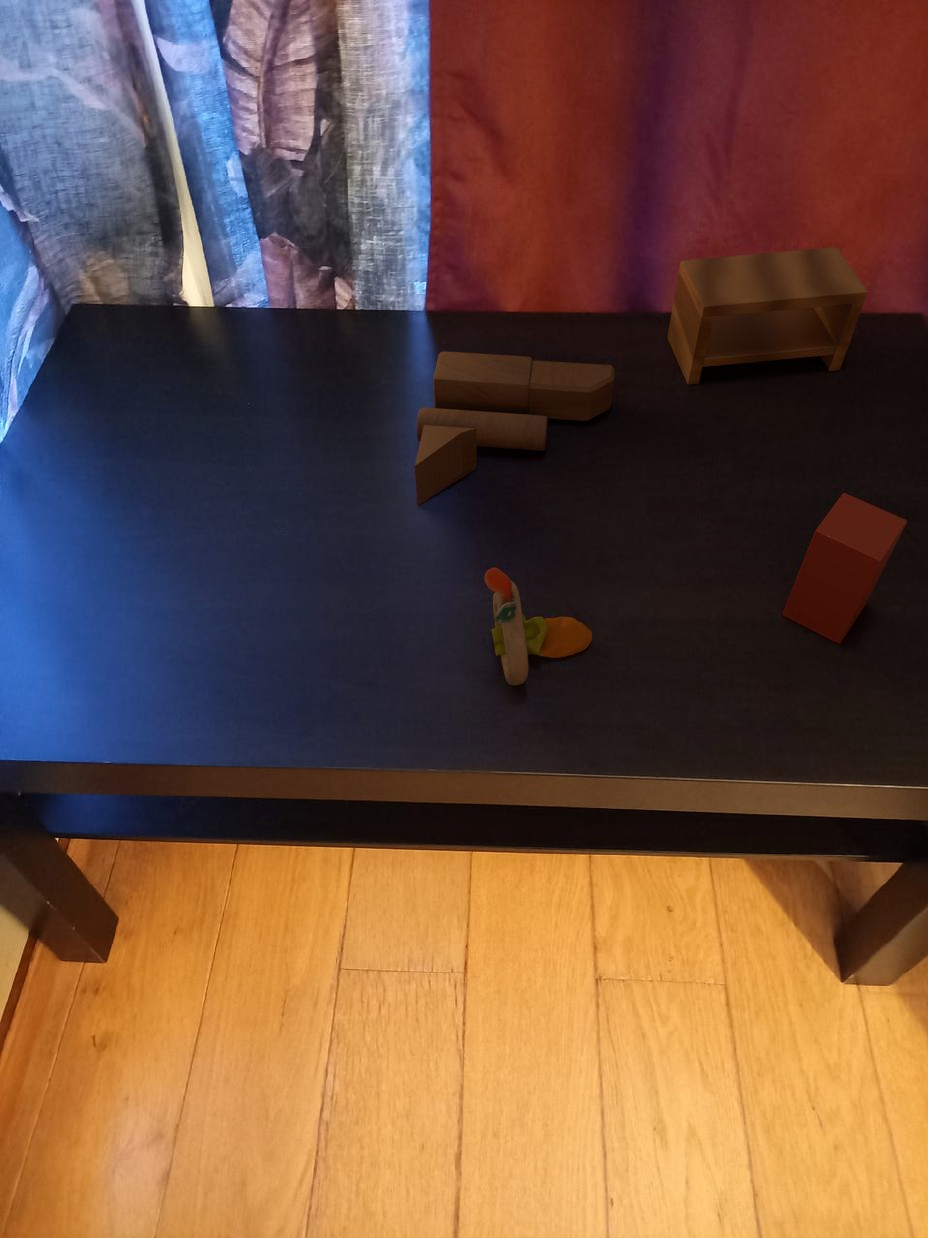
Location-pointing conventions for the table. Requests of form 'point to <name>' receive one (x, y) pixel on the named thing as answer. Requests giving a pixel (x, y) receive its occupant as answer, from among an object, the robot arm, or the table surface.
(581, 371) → the wooden block set
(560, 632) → the rattle
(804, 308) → the shelf
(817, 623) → the block
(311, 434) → the table surface
